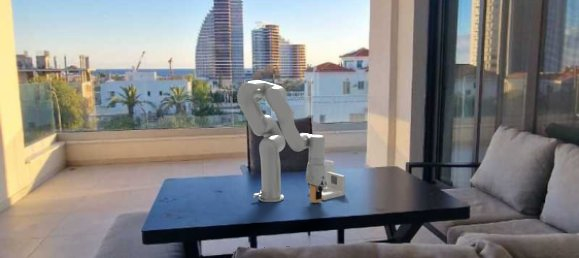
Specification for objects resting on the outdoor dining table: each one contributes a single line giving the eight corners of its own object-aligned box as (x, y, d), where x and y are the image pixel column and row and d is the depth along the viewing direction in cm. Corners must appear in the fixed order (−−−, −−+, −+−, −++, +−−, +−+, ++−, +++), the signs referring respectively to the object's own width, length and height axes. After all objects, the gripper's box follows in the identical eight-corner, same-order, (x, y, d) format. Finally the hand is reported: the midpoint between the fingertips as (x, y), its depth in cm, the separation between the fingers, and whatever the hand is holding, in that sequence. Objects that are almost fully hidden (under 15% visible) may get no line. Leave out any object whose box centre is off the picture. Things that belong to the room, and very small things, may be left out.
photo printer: (333, 180, 254) (333, 159, 253) (335, 182, 250) (335, 160, 248) (315, 181, 253) (315, 160, 251) (317, 183, 249) (317, 161, 247)
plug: (314, 202, 211) (315, 182, 210) (309, 200, 214) (310, 180, 213) (321, 201, 213) (321, 181, 212) (316, 199, 217) (316, 179, 215)
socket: (323, 200, 217) (323, 180, 216) (308, 194, 227) (308, 175, 226) (344, 195, 225) (345, 175, 224) (329, 189, 235) (329, 171, 234)
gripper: (299, 158, 215) (299, 194, 218) (321, 165, 202) (320, 203, 205) (311, 156, 220) (311, 192, 222) (334, 163, 206) (333, 201, 209)
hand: (315, 197), depth 214 cm, fingers closed on plug, 4 cm apart
